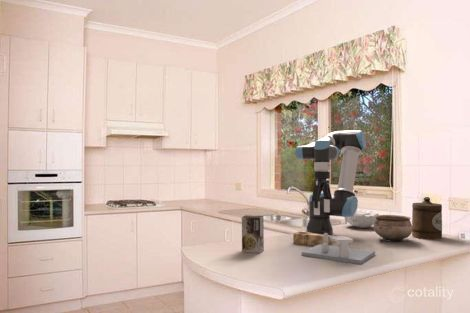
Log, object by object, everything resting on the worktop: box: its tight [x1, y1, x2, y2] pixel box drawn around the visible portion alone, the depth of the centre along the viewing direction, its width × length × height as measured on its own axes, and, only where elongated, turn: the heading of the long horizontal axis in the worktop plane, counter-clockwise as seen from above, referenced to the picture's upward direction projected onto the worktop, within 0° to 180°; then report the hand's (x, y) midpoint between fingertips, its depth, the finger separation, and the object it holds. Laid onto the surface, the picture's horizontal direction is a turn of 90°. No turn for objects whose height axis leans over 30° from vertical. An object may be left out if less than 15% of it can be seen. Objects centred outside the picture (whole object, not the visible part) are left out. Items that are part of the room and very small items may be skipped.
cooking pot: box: [373, 214, 413, 242], centre depth 204 cm, size 25×19×12 cm
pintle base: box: [301, 233, 376, 265], centre depth 171 cm, size 26×21×9 cm
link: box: [292, 231, 334, 246], centre depth 194 cm, size 18×7×5 cm, turn 55°
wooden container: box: [411, 196, 443, 240], centre depth 214 cm, size 15×15×22 cm
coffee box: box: [241, 214, 265, 254], centre depth 179 cm, size 9×6×16 cm
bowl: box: [344, 209, 380, 229], centre depth 244 cm, size 21×20×10 cm
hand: (321, 213), depth 193 cm, fingers open, 13 cm apart
